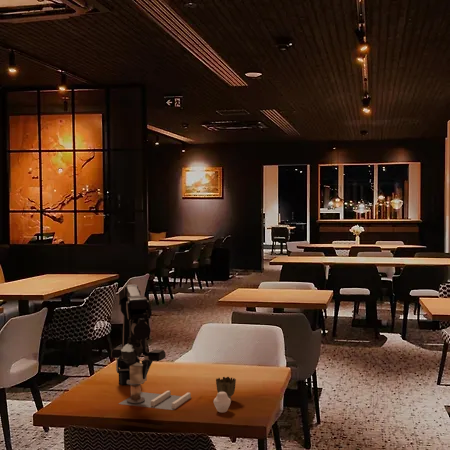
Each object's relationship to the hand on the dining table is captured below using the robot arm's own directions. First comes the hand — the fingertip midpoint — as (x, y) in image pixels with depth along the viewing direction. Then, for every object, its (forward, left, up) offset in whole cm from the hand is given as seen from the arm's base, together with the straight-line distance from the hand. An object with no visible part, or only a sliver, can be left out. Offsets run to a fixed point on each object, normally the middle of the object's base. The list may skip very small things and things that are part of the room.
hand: (138, 378), depth 225 cm
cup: (+24, +23, -12) cm, 35 cm away
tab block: (0, 0, -1) cm, 1 cm away
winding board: (+1, +11, -12) cm, 16 cm away
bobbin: (-6, +8, -11) cm, 14 cm away
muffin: (+27, +11, -12) cm, 32 cm away
